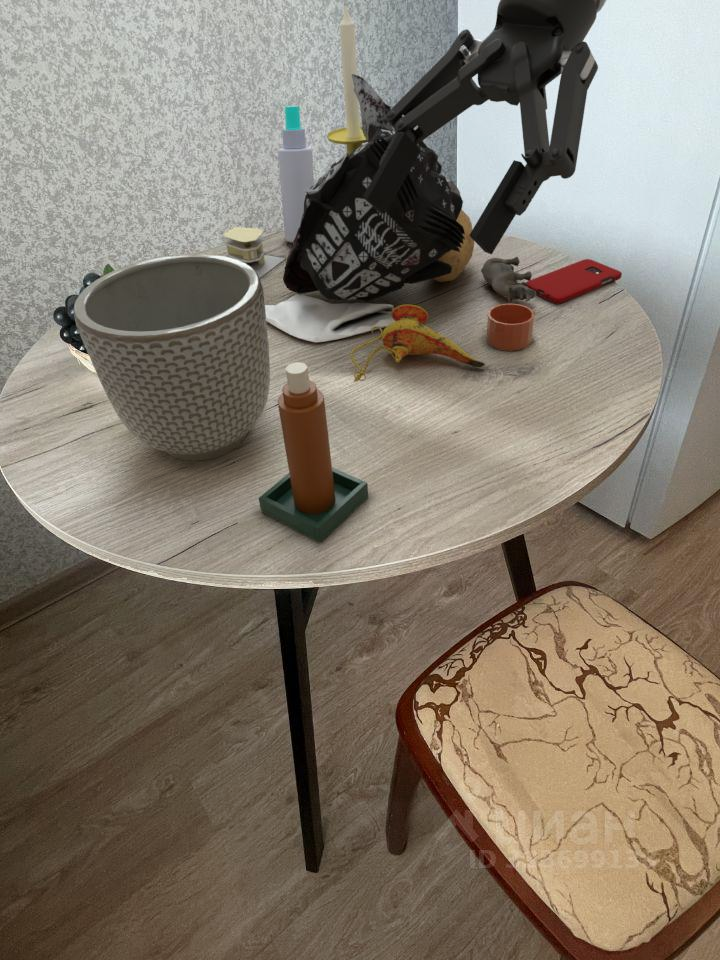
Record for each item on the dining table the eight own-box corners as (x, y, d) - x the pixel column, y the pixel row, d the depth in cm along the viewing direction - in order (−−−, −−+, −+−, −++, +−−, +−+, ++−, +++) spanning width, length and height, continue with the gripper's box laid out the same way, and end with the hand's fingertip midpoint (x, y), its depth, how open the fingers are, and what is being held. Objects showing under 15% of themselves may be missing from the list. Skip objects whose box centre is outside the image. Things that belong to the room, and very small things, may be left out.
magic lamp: (484, 336, 98) (479, 406, 94) (357, 324, 99) (347, 393, 95) (491, 307, 92) (487, 381, 88) (356, 295, 93) (345, 368, 89)
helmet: (245, 264, 89) (407, 70, 83) (220, 226, 110) (347, 69, 104) (380, 382, 102) (527, 222, 97) (335, 327, 124) (453, 194, 118)
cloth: (232, 330, 105) (229, 316, 104) (276, 291, 115) (274, 278, 113) (392, 357, 96) (391, 343, 95) (425, 313, 106) (425, 299, 104)
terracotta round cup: (538, 335, 99) (541, 310, 96) (518, 355, 95) (521, 328, 93) (499, 325, 102) (501, 299, 99) (478, 343, 98) (480, 317, 96)
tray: (368, 497, 75) (367, 482, 74) (320, 543, 70) (318, 528, 69) (310, 470, 79) (308, 456, 78) (261, 512, 74) (258, 497, 73)
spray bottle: (308, 244, 126) (299, 106, 115) (279, 242, 129) (267, 107, 118) (323, 237, 131) (315, 105, 120) (295, 236, 133) (285, 106, 122)
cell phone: (558, 299, 105) (557, 305, 105) (624, 271, 110) (623, 277, 111) (521, 282, 110) (521, 287, 110) (587, 256, 115) (586, 262, 116)
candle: (360, 243, 128) (345, -4, 103) (401, 256, 122) (395, -2, 98) (321, 261, 122) (295, 6, 98) (362, 276, 117) (345, 9, 93)
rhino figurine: (543, 313, 105) (505, 317, 104) (509, 274, 115) (474, 277, 114) (547, 287, 102) (509, 291, 101) (513, 250, 112) (477, 253, 111)
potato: (404, 292, 111) (403, 235, 105) (433, 254, 122) (434, 200, 116) (456, 299, 108) (458, 240, 102) (482, 259, 119) (485, 203, 113)
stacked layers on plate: (211, 271, 123) (204, 240, 119) (239, 251, 129) (234, 221, 125) (259, 278, 119) (253, 247, 115) (285, 258, 125) (281, 228, 121)
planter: (114, 414, 90) (64, 275, 78) (260, 377, 95) (235, 239, 83) (135, 508, 76) (79, 356, 64) (306, 458, 81) (284, 307, 68)
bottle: (338, 487, 76) (323, 355, 65) (332, 515, 72) (316, 381, 62) (298, 486, 76) (277, 355, 66) (290, 513, 73) (267, 380, 62)
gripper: (711, 35, 52) (554, 287, 55) (472, 15, 68) (360, 212, 71) (687, -47, 46) (513, 240, 49) (431, -48, 62) (311, 170, 65)
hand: (423, 224), depth 60 cm, fingers open, 13 cm apart
